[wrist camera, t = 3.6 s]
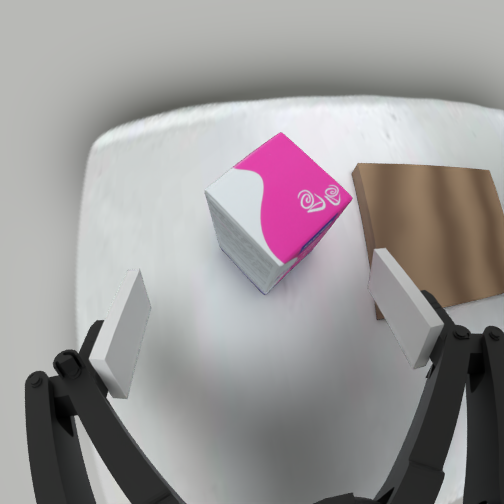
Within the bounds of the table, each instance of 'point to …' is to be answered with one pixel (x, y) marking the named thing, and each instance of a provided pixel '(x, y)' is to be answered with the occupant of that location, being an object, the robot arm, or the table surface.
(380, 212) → the brown flat block
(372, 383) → the table surface
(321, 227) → the supplement box
